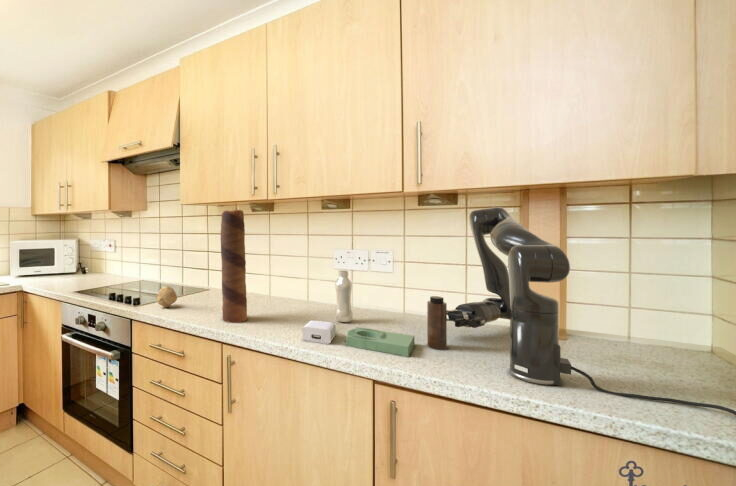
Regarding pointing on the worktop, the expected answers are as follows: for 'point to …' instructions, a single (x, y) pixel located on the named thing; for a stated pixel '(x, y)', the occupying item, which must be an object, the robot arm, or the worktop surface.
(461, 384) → the worktop surface
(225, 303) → the wafer roll
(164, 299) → the natural sponge
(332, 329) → the charger
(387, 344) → the board
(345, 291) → the plastic bottle
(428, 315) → the pepper mill
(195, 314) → the worktop surface
